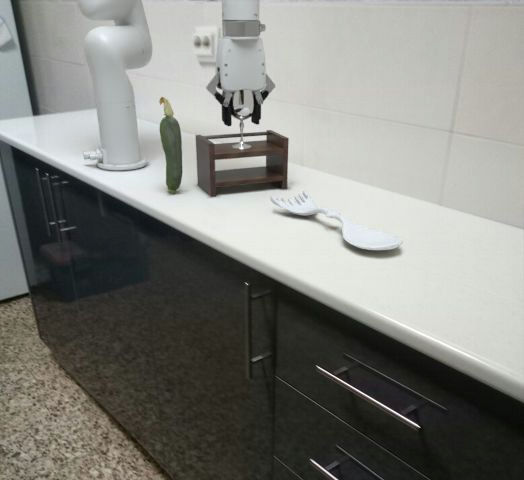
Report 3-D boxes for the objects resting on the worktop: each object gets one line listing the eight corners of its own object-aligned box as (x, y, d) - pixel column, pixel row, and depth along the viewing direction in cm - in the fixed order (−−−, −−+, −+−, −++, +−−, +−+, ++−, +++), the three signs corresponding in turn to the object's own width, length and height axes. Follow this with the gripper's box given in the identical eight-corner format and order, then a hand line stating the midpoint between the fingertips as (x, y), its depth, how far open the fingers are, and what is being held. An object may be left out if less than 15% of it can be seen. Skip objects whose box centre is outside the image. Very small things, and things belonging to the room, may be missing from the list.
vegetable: (187, 192, 130) (182, 96, 120) (179, 197, 127) (172, 99, 116) (169, 190, 131) (163, 94, 121) (160, 195, 128) (153, 97, 118)
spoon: (304, 204, 123) (304, 188, 121) (412, 253, 100) (415, 233, 98) (268, 211, 119) (268, 194, 117) (372, 263, 96) (375, 243, 94)
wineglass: (251, 150, 127) (251, 90, 121) (225, 148, 128) (224, 89, 122) (256, 144, 132) (257, 87, 126) (232, 143, 133) (231, 86, 127)
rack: (210, 196, 128) (209, 143, 122) (197, 185, 135) (195, 135, 130) (287, 188, 134) (288, 138, 128) (270, 178, 142) (271, 129, 136)
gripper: (272, 29, 124) (271, 119, 133) (194, 30, 118) (198, 123, 128) (286, 31, 118) (284, 125, 127) (205, 31, 112) (209, 129, 122)
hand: (241, 123), depth 127 cm, fingers closed on wineglass, 5 cm apart
